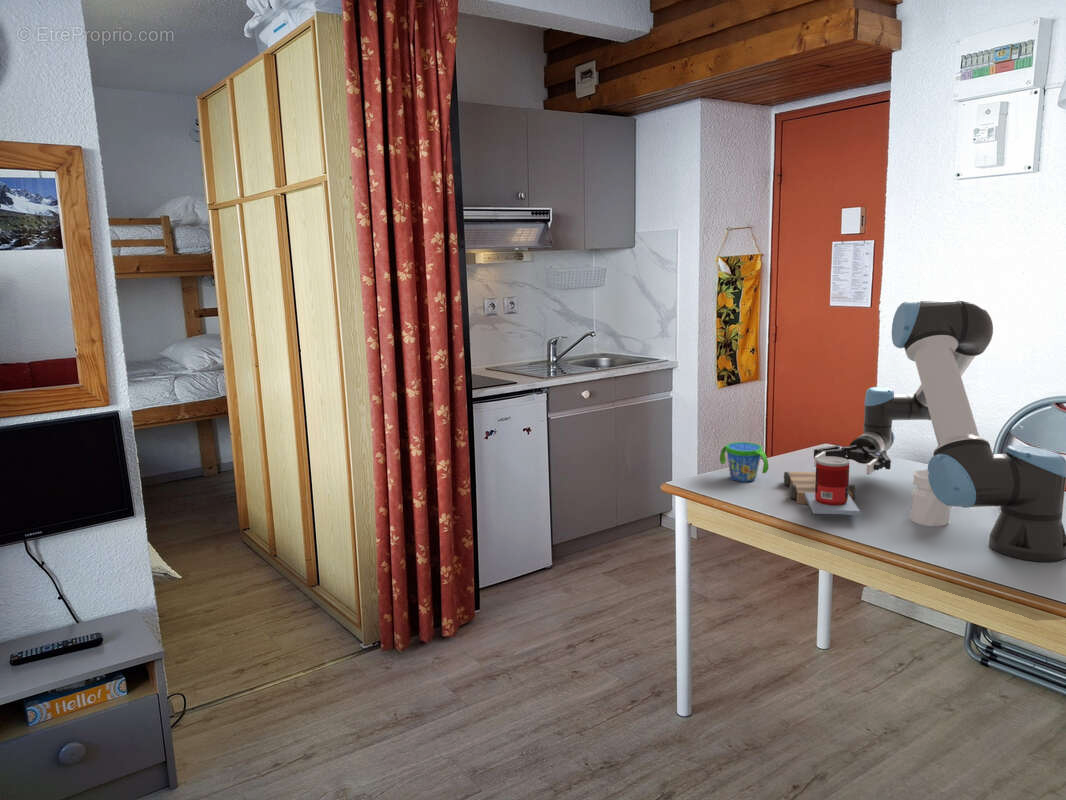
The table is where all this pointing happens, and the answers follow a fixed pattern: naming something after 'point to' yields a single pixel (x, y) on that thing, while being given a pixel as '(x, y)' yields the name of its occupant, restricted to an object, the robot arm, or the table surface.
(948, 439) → the robot arm
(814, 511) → the grey flat slab
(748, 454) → the snack cup
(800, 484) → the flatbed
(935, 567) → the table surface
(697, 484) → the table surface
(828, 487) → the canned food
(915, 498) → the vase
